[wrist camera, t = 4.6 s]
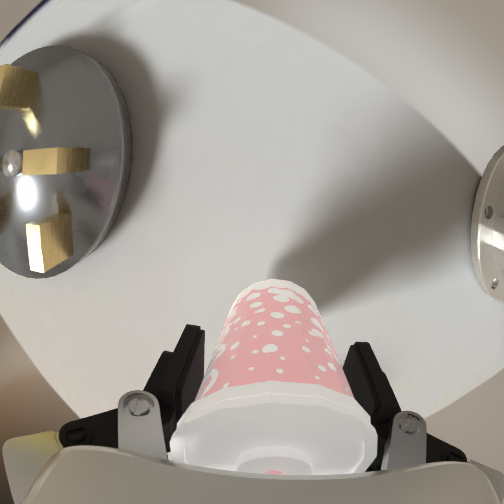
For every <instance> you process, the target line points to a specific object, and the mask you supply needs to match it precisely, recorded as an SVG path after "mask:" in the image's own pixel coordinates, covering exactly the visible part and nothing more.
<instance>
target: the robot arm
mask: <svg viewBox="0 0 504 504" xmlns="http://www.w3.org/2000/svg"><path fill="white" fill-rule="evenodd" d="M471 253H472V263H473V266H474V270H475V274H476V277H477V279H478V281H479V283H480V285H481V287H482V288H483V289H484V290H485V291H486V293H487V294H489V295H490V296H492V297H493V298H494V299H496V300H498V301H500V302H503V303H504V146H502V147H501V148H500V149H499V150H498V151H497V152H496V153H495V154H494V156H493V157H492V159H491V160H490V162H489V163H488V165H487V167H486V169H485V171H484V173H483V176H482V178H481V181H480V184H479V187H478V190H477V194H476V198H475V203H474V208H473V213H472V224H471ZM204 343H205V331H204V330H201V329H200V326H196V325H189V324H187V325H186V327H185V329H184V331H183V333H182V335H181V337H180V339H179V341H178V344H177V346H176V348H175V350H174V352H169V351H163V353H162V354H161V356H160V358H159V360H158V362H157V364H156V366H155V368H154V370H153V372H152V374H151V376H150V378H149V380H148V382H147V384H146V386H145V388H144V390H143V391H141V390H135V391H130V392H127V393H126V394H124V395H123V396H122V397H121V398H120V400H119V403H118V408H116V409H113V410H110V411H107V412H103V413H100V414H96V415H93V416H89V417H86V418H82V419H78V420H75V421H71V422H69V423H66V424H65V425H64V426H62V428H61V429H60V431H59V432H58V433H53V431H48V432H43V433H38V434H33V435H28V436H22V437H17V438H12V439H9V440H8V441H6V442H5V443H4V446H3V452H2V453H3V458H4V463H5V468H6V472H7V477H8V481H9V485H10V489H11V493H12V496H13V500H14V503H15V504H502V500H503V497H504V474H503V473H501V472H499V471H497V470H494V469H492V468H490V467H487V466H485V465H482V464H480V463H477V462H475V461H473V460H470V461H469V462H468V461H467V458H466V456H465V454H464V453H463V452H462V451H461V450H460V449H458V448H456V447H454V446H452V445H450V444H448V443H445V442H444V441H442V440H440V439H438V438H436V437H434V436H432V435H430V434H428V433H426V422H425V421H424V419H423V418H422V417H421V416H420V415H419V414H417V413H415V412H412V411H401V409H400V406H399V404H398V402H397V399H396V397H395V395H394V393H393V390H392V388H391V386H390V384H389V381H388V379H387V377H386V375H385V373H384V372H382V370H381V368H380V366H379V363H378V361H377V359H376V357H375V355H374V352H373V350H372V348H371V346H370V344H369V343H368V342H355V344H354V345H351V346H350V348H349V351H348V354H347V357H346V360H345V363H344V366H343V368H342V369H343V371H344V374H345V376H346V379H347V381H348V384H349V386H350V389H351V391H352V394H353V396H354V399H355V400H356V401H357V402H358V403H359V405H360V406H361V407H362V408H363V409H364V410H365V411H366V412H367V414H368V415H369V416H370V421H371V425H372V426H373V427H374V428H375V430H376V433H377V436H378V438H377V457H376V458H375V459H374V461H373V462H372V463H371V464H370V466H369V467H368V468H367V470H366V471H365V472H362V473H350V474H333V475H276V474H259V473H247V472H237V471H229V470H221V469H214V468H208V467H202V466H196V465H190V464H185V463H180V462H175V461H170V460H168V455H167V453H168V452H170V451H171V449H170V440H171V437H172V435H173V433H174V432H175V431H176V429H177V423H178V421H179V420H180V418H181V417H182V416H183V414H184V413H185V412H186V410H187V409H188V407H189V406H190V405H191V403H193V402H194V401H195V399H196V396H197V394H198V391H199V389H200V386H201V384H202V381H203V378H204Z"/></svg>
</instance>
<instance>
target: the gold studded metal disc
mask: <svg viewBox="0 0 504 504" xmlns="http://www.w3.org/2000/svg"><path fill="white" fill-rule="evenodd" d="M131 142H132V141H131V129H130V121H129V116H128V111H127V107H126V104H125V101H124V98H123V95H122V93H121V91H120V89H119V87H118V85H117V83H116V81H115V80H114V78H113V77H112V76H111V74H110V73H109V71H107V70H106V69H105V68H104V67H103V66H102V65H101V64H100V63H99V62H97V61H96V60H94V59H92V58H91V57H89V56H87V55H85V54H83V53H81V52H79V51H77V50H75V49H72V48H69V47H63V46H47V47H43V48H39V49H36V50H33V51H31V52H29V53H27V54H25V55H23V56H22V57H20V58H18V59H17V60H16V61H14V62H13V63H12V64H11V65H9V64H5V65H2V66H0V263H1V264H2V265H4V266H5V267H6V268H8V269H9V270H11V271H13V272H15V273H17V274H19V275H22V276H25V277H29V278H36V279H37V278H48V277H52V276H56V275H58V274H60V273H62V272H64V271H66V270H68V269H69V268H71V267H72V266H74V265H75V264H77V263H78V262H80V261H81V260H83V259H84V258H85V257H87V256H88V255H89V254H90V253H91V252H92V251H93V250H95V249H96V248H97V247H98V245H99V244H100V243H101V241H102V240H103V239H104V238H105V236H106V235H107V233H108V231H109V230H110V228H111V226H112V225H113V223H114V221H115V219H116V216H117V214H118V212H119V210H120V207H121V204H122V201H123V198H124V195H125V191H126V187H127V182H128V178H129V171H130V163H131Z"/></svg>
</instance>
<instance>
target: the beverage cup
mask: <svg viewBox="0 0 504 504" xmlns="http://www.w3.org/2000/svg"><path fill="white" fill-rule="evenodd" d="M377 438H378V436H377V433H376V430H375V428H374V427H373V426H372V425H371V421H370V416H369V415H368V414H367V412H366V411H365V410H364V409H363V408H362V407H361V406H360V405H359V403H358V402H357V401H356V400H355V399H354V396H353V394H352V391H351V389H350V386H349V384H348V381H347V379H346V376H345V374H344V371H343V369H342V366H341V364H340V361H339V359H338V356H337V354H336V352H335V349H334V347H333V344H332V342H331V339H330V337H329V335H328V332H327V330H326V328H325V325H324V323H323V320H322V318H321V316H320V313H319V311H318V309H317V306H316V304H315V302H314V300H313V299H312V298H311V297H310V295H309V294H308V293H307V291H306V290H305V289H303V288H302V287H300V286H298V285H296V284H294V283H292V282H291V281H286V280H278V279H269V280H264V281H260V282H256V283H253V284H252V285H250V286H249V287H248V288H246V289H245V290H243V291H242V292H240V294H239V295H238V297H237V299H236V300H235V302H234V303H233V305H232V307H231V310H230V312H229V315H228V317H227V320H226V322H225V325H224V328H223V330H222V333H221V335H220V338H219V340H218V343H217V345H216V348H215V350H214V353H213V356H212V358H211V361H210V363H209V366H208V368H207V371H206V373H205V376H204V378H203V381H202V384H201V386H200V389H199V391H198V394H197V396H196V399H195V401H194V402H193V403H191V405H190V406H189V407H188V409H187V410H186V412H185V413H184V414H183V416H182V417H181V418H180V420H179V421H178V423H177V429H176V431H175V432H174V433H173V435H172V437H171V440H170V449H171V456H172V461H175V462H180V463H185V464H190V465H196V466H202V467H208V468H214V469H221V470H229V471H237V472H247V473H259V474H276V475H333V474H350V473H362V472H365V471H366V470H367V468H368V467H369V466H370V464H371V463H372V462H373V461H374V459H375V458H376V457H377Z"/></svg>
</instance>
